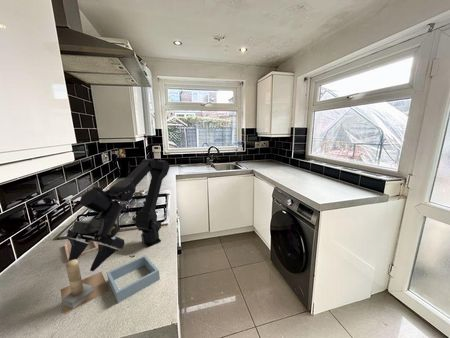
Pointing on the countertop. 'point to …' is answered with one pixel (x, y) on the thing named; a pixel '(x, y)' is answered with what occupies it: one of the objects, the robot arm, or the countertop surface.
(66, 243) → the pink rectangular frame
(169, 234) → the countertop surface
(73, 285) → the rubber stamp
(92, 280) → the far plate
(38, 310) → the countertop surface
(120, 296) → the box
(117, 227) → the tape measure
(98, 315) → the countertop surface
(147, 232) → the robot arm
